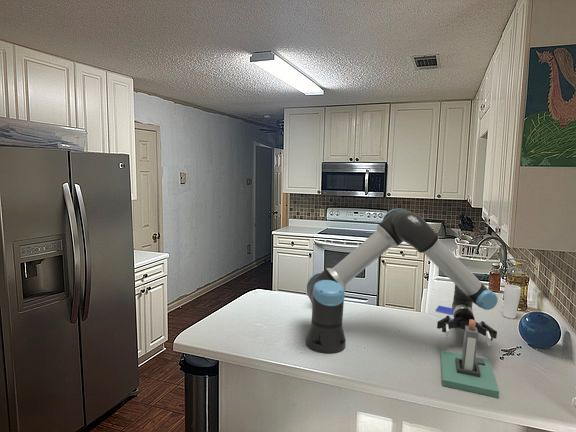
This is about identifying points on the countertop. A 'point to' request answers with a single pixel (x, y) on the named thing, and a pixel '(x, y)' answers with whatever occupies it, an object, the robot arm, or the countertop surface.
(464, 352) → the plug
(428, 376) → the countertop surface
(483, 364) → the board
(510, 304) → the drinking glass
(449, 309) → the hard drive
